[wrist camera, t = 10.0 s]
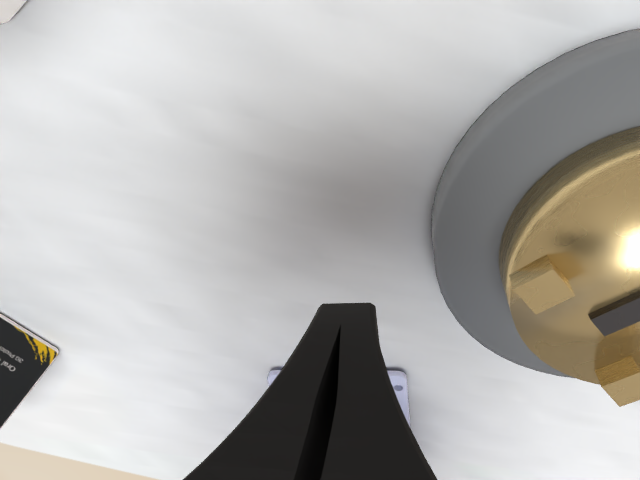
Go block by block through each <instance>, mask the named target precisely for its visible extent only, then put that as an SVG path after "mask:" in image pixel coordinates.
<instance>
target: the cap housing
mask: <svg viewBox="0 0 640 480" xmlns="http://www.w3.org/2000/svg"><path fill="white" fill-rule="evenodd" d="M639 126H640V29H636V30H631V31H626V32H623V33H620V34H616V35H613V36H610V37H606V38H603V39H600V40H596V41H594V42H591V43H589V44H587V45H584V46H582V47H580V48H577V49H575V50H572V51H570V52H568V53H565V54H563V55H562V56H560V57H558V58H556V59H554V60H553V61H551V62H549V63H547V64H545V65H544V66H542V67H540V68H538V69H536V70H535V71H533V72H532V73H531V74H529V75H528V76H526V77H525V78H524V79H522V80H521V81H519V82H518V83H516V84H515V85H514V86H512V87H511V88H510V89H508V90H507V91H506V92H505V93H504V94H503V95H502V96H501V97H499V98H498V99H497V100H496V101H495V102H494V103H493V104H491V105H490V106H489V107H488V108H487V109H486V110H485V112H484V113H483V114H482V115H481V116H480V117H479V118H478V119H477V120H476V122H475V123H474V124H473V125H472V126H471V127H470V128H469V130H468V131H467V133H466V134H465V135H464V137H463V138H462V140H461V141H460V143H459V144H458V145H457V147H456V148H455V150H454V152H453V154H452V156H451V158H450V159H449V161H448V163H447V165H446V167H445V169H444V171H443V174H442V177H441V179H440V182H439V185H438V187H437V190H436V195H435V200H434V204H433V209H432V224H431V232H432V242H433V251H434V260H435V270H436V276H437V280H438V283H439V287H440V290H441V293H442V295H443V297H444V299H445V302H446V304H447V306H448V308H449V309H450V311H451V312H452V314H453V315H454V317H455V318H456V320H457V321H458V322H459V324H460V325H461V326H462V327H463V328H464V329H465V330H466V331H467V332H468V333H469V334H470V335H471V336H472V337H473V338H475V339H476V340H477V341H478V342H479V343H481V344H482V345H483V346H484V347H486V348H488V349H489V350H491V351H493V352H494V353H496V354H497V355H499V356H501V357H503V358H505V359H507V360H509V361H512V362H514V363H516V364H518V365H521V366H524V367H527V368H530V369H533V370H536V371H540V372H544V373H548V374H553V375H557V376H564V377H571V378H574V377H572V376H569V375H566V374H564V373H562V372H560V371H558V370H556V369H554V368H552V367H551V366H549V365H548V364H546V363H545V362H543V361H542V360H540V359H539V358H538V357H537V356H536V355H535V354H534V353H533V352H532V351H531V350H530V349H529V348H528V347H527V345H526V344H525V343H524V342H523V340H522V339H521V337H520V335H519V333H518V332H517V330H516V327H515V324H514V321H513V318H512V315H511V311H510V308H509V304H508V301H507V298H506V294H505V291H504V287H503V284H502V280H501V277H500V270H499V249H500V244H501V238H502V235H503V232H504V230H505V227H506V224H507V222H508V220H509V218H510V216H511V214H512V213H513V211H514V209H515V207H516V206H517V205H518V203H519V202H520V200H521V199H522V198H523V196H524V195H525V194H526V193H527V192H528V190H529V189H530V188H531V187H532V186H533V185H534V184H535V183H536V182H537V181H538V180H539V179H540V178H541V177H542V176H543V175H544V174H546V173H547V172H548V171H549V170H550V169H551V168H553V167H554V166H555V165H557V164H558V163H560V162H561V161H562V160H564V159H565V158H567V157H568V156H570V155H571V154H573V153H575V152H577V151H578V150H580V149H582V148H584V147H586V146H587V145H589V144H591V143H594V142H596V141H598V140H600V139H603V138H605V137H607V136H610V135H613V134H616V133H619V132H622V131H625V130H628V129H631V128H635V127H639Z"/></svg>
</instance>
